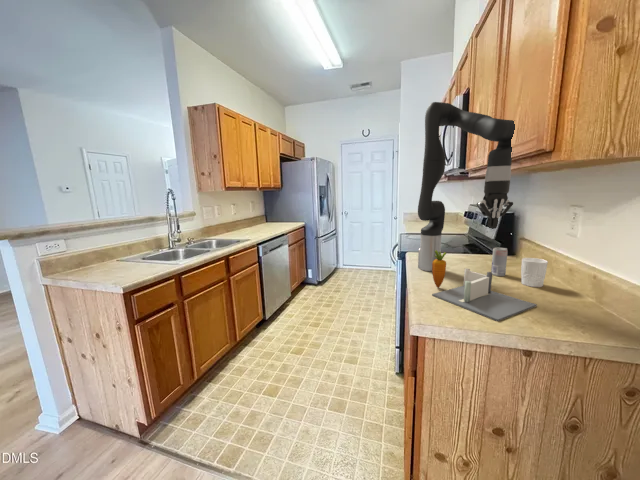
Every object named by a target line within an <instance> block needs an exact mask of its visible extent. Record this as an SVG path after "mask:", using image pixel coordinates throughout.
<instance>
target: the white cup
mask: <svg viewBox="0 0 640 480" xmlns="http://www.w3.org/2000/svg"><path fill="white" fill-rule="evenodd" d="M548 263H549V262H548V260H545V259H543V258H538V257H522V258H521V267H520V268H521V269H520V270H521V271H520V277H521V279H520V282H521V284H522V285H523V286H527V287H530V288H531V287H532V288H542V287H544V282H545V281H544V280H545V279H546V275H547V268H548Z"/></svg>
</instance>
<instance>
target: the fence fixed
mask: <svg viewBox="0 0 640 480" xmlns="http://www.w3.org/2000/svg"><path fill="white" fill-rule="evenodd" d="M463 272H464V274H463V275H464V276H463V285H462V286H464V287H465V281H470V282H471V281H474V280H477V279H480V278H483V277H489V287H488V294H491V291H492V281H493V275H492V272H491V271H486V274H484V273H482V272H481V273H480V272H476V271H474V270H473V271H472V270H471V269H470V268H467V267H466V268H464V271H463Z"/></svg>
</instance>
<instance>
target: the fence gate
mask: <svg viewBox="0 0 640 480" xmlns="http://www.w3.org/2000/svg"><path fill="white" fill-rule="evenodd" d="M488 287H489V277H483V278H480V279H477V280H474V281H471V282H470V281H465V289H464V301H465V302H470V301H471V300H473V299H476V298H478V297H481V296H483V295H485V294H488Z"/></svg>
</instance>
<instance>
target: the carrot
mask: <svg viewBox="0 0 640 480" xmlns="http://www.w3.org/2000/svg"><path fill="white" fill-rule="evenodd" d="M435 253H436V255H437V256H435V257H436V258H437V259H435V260H434V261H433V263H432V271H431V272H432V279H433V282H434V285H435V286H436V288H437V289H439V288H440V287H441V286H442V284H443V282H444V280H445V275H446V269H447V261H446V260H444V257H445V256H446V254H447V252H443V254H442V252H439V253H438V251H437V250H436V251H435Z"/></svg>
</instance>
